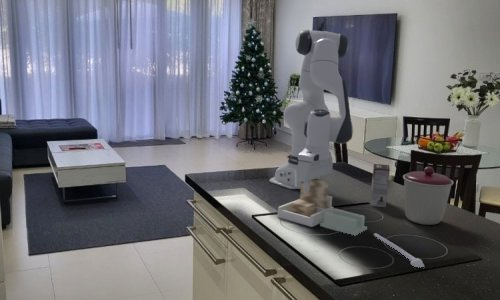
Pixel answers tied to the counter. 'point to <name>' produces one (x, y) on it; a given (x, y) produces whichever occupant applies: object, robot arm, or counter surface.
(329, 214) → the holder
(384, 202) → the coffee box
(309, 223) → the rack
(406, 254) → the white ladle
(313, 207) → the offcut stack
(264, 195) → the counter surface
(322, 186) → the birch panel
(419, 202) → the canister
